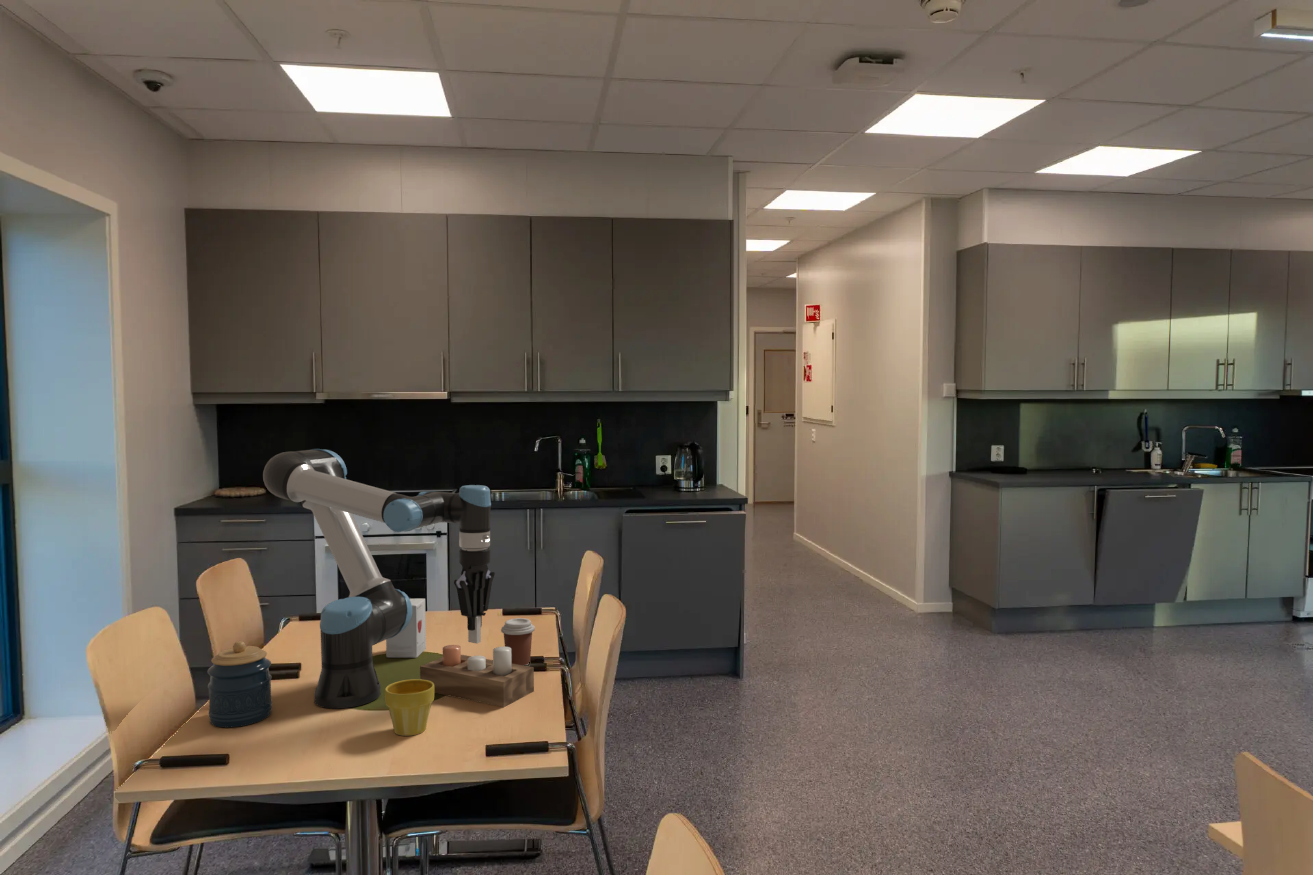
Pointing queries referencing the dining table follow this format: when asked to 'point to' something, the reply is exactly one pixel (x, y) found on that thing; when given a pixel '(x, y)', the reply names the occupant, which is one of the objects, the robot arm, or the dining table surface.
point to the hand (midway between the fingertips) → (474, 641)
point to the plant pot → (409, 705)
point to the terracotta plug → (451, 655)
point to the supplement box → (410, 634)
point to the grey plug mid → (476, 663)
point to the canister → (239, 686)
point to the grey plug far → (502, 661)
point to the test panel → (479, 682)
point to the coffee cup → (518, 639)
